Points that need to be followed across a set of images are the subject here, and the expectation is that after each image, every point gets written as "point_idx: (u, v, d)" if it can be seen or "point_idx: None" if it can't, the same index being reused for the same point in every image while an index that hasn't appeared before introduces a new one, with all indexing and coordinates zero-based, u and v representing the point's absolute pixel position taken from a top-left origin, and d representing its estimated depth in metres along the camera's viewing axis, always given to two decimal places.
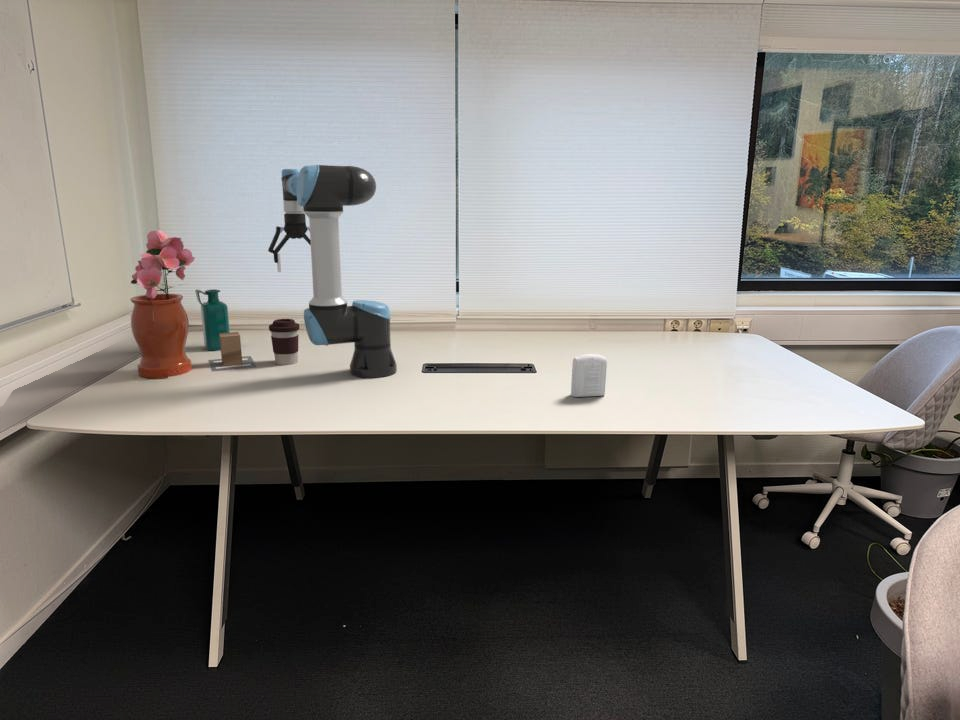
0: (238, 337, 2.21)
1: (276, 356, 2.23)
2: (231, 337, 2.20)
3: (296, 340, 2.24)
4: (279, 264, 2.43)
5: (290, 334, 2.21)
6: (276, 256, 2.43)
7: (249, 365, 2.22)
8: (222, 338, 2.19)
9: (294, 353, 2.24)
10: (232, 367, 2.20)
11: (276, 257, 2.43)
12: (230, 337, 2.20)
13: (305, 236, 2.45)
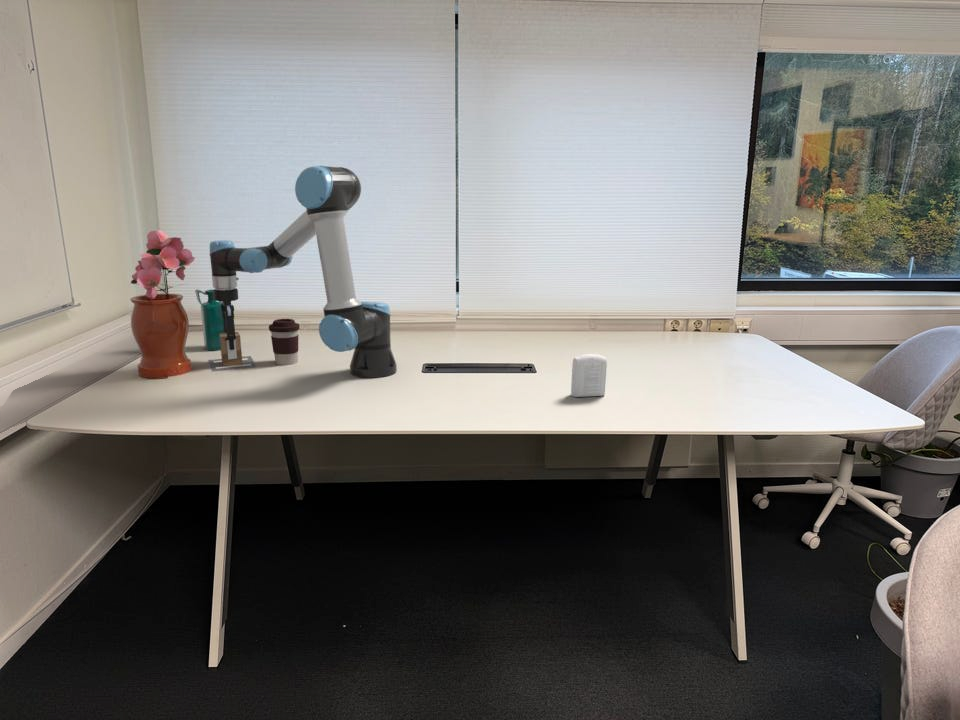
0: (238, 337, 2.21)
1: (276, 356, 2.23)
2: None
3: (296, 340, 2.24)
4: None
5: (290, 334, 2.21)
6: None
7: (249, 365, 2.22)
8: (222, 338, 2.19)
9: (294, 353, 2.24)
10: (232, 367, 2.20)
11: None
12: None
13: (223, 316, 2.18)
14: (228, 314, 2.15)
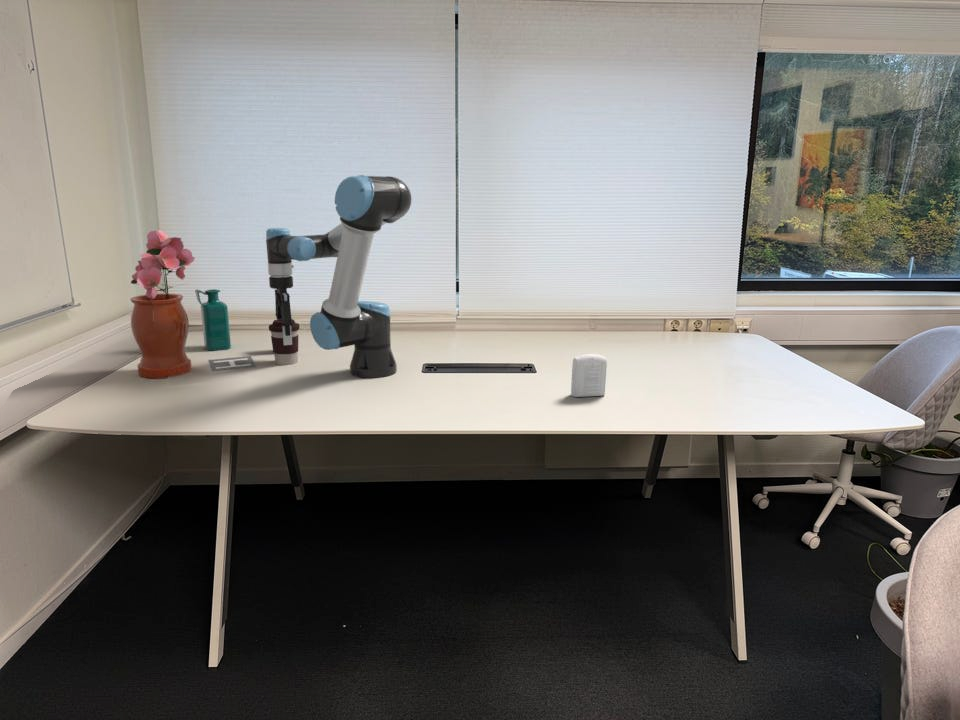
0: None
1: (276, 356, 2.23)
2: None
3: (296, 340, 2.24)
4: None
5: None
6: None
7: (249, 365, 2.22)
8: None
9: (294, 353, 2.24)
10: (232, 367, 2.20)
11: None
12: None
13: (278, 303, 2.18)
14: (284, 299, 2.15)
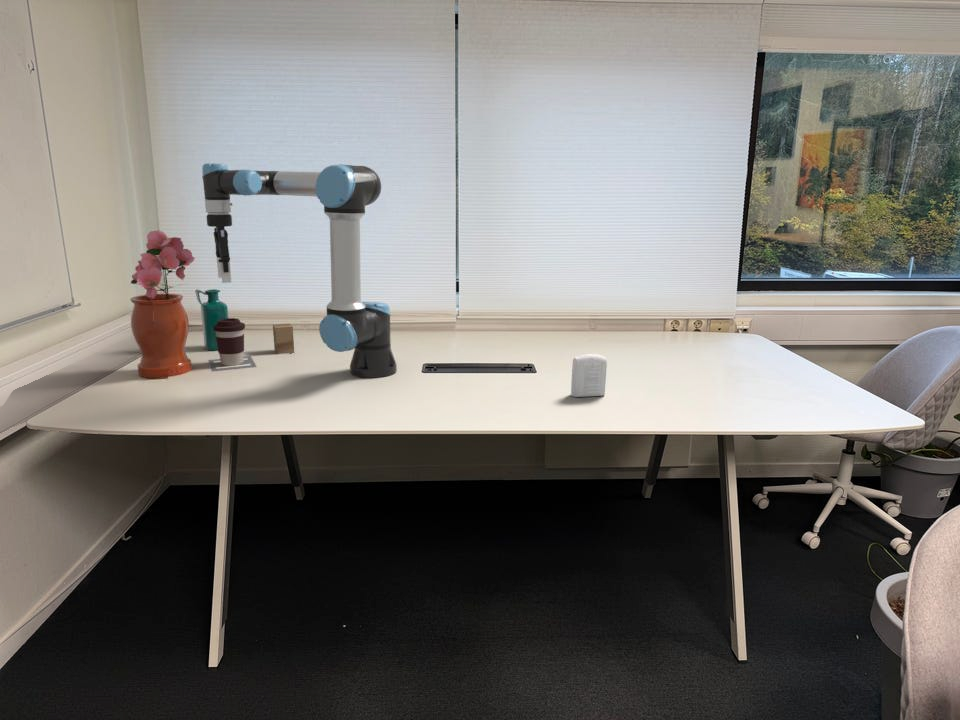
0: (291, 328, 2.38)
1: (221, 356, 2.21)
2: (285, 328, 2.37)
3: (241, 340, 2.21)
4: None
5: (234, 334, 2.19)
6: None
7: (249, 365, 2.22)
8: (276, 329, 2.36)
9: (239, 353, 2.22)
10: (232, 367, 2.20)
11: None
12: (284, 328, 2.37)
13: (216, 241, 2.11)
14: (221, 234, 2.08)
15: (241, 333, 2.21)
